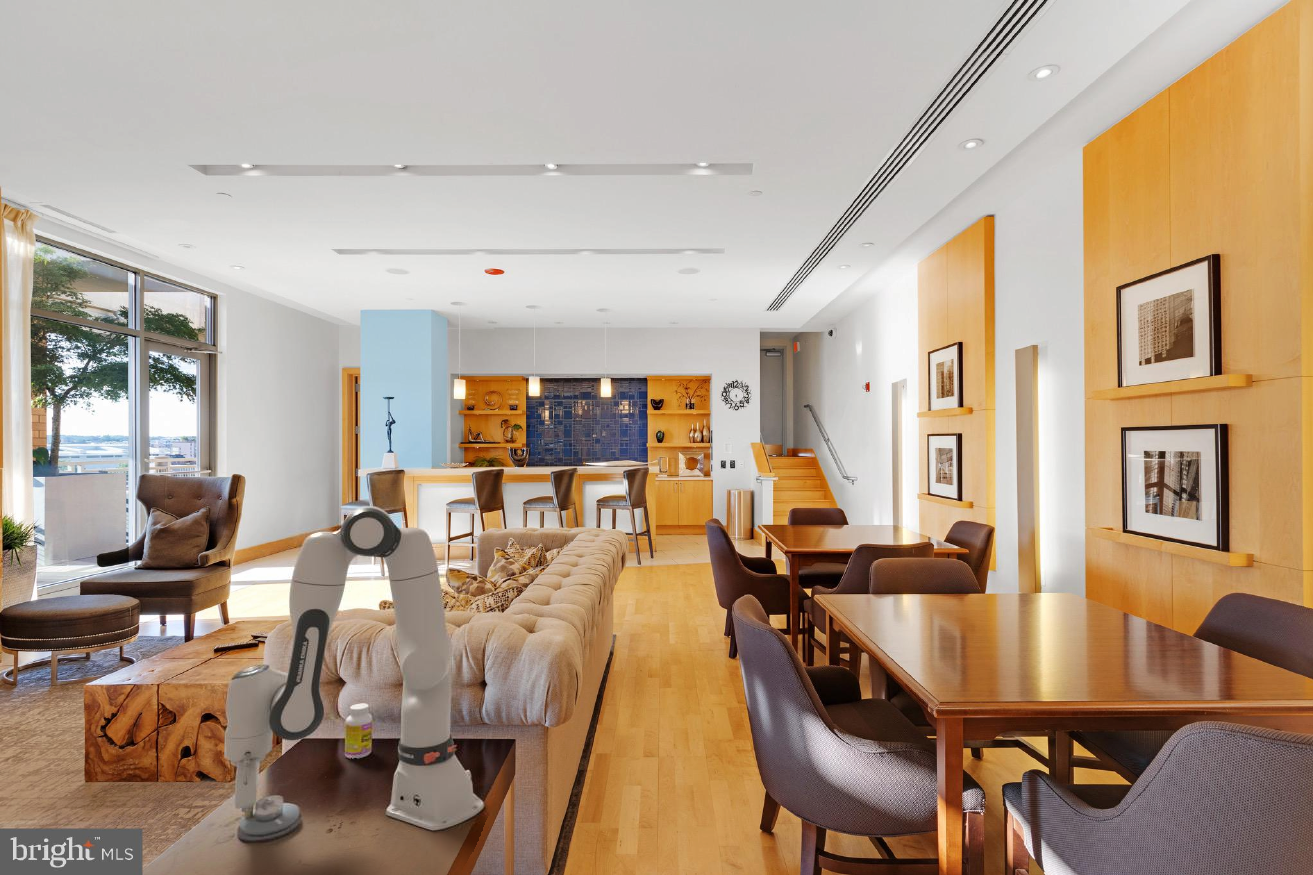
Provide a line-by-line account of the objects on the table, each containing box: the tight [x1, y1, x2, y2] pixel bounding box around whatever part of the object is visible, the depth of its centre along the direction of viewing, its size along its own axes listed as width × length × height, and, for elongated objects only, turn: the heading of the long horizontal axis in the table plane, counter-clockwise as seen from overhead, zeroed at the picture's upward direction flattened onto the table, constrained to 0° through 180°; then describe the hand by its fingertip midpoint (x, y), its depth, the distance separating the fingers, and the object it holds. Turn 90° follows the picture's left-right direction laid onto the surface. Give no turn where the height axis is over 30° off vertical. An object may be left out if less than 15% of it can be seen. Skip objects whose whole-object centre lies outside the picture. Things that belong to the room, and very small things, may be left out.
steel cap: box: [254, 795, 284, 823], centre depth 148 cm, size 5×5×4 cm
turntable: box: [239, 802, 300, 835], centre depth 148 cm, size 11×11×5 cm
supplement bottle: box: [344, 702, 373, 760], centre depth 186 cm, size 7×7×13 cm
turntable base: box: [237, 812, 302, 844], centre depth 148 cm, size 12×12×1 cm
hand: (246, 810), depth 146 cm, fingers closed, pressing on turntable
